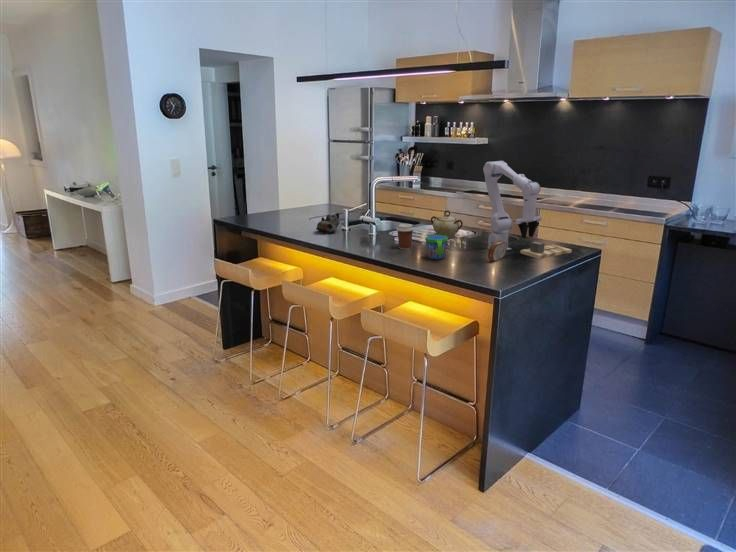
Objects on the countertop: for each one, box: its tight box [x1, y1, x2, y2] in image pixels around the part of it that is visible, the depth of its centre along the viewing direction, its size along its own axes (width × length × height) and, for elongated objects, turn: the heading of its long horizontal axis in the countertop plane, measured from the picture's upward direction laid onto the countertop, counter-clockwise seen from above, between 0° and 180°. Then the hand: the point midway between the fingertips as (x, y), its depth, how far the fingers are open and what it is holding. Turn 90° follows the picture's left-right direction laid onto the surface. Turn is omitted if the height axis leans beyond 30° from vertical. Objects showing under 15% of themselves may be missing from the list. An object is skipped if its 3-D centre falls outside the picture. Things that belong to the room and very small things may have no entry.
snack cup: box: [425, 234, 449, 260], centre depth 243 cm, size 16×10×10 cm
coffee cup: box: [395, 223, 415, 250], centre depth 262 cm, size 9×9×12 cm
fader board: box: [519, 244, 573, 260], centre depth 249 cm, size 22×12×2 cm, turn 117°
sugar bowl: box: [430, 209, 464, 239], centre depth 284 cm, size 20×15×15 cm
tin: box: [487, 241, 507, 262], centre depth 239 cm, size 15×3×8 cm, turn 141°
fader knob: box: [529, 241, 546, 253], centre depth 246 cm, size 4×5×4 cm
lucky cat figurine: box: [315, 212, 341, 234], centre depth 302 cm, size 15×12×14 cm
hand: (527, 237), depth 241 cm, fingers open, 4 cm apart
